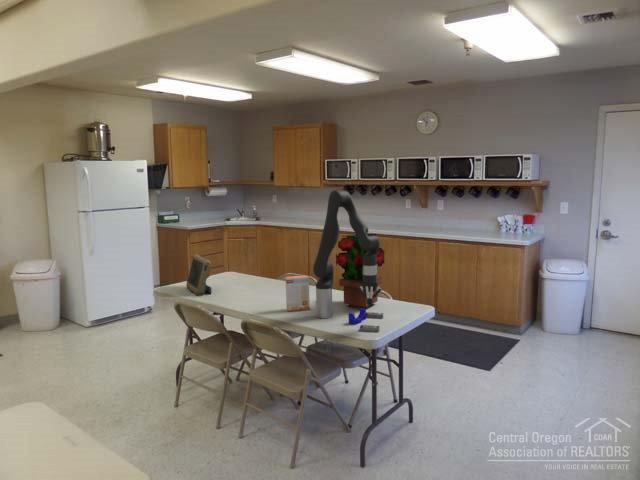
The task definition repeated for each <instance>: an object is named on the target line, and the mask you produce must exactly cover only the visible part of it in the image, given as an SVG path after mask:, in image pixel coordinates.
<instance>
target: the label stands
mask: <svg viewBox="0 0 640 480" xmlns="http://www.w3.org/2000/svg"><path fill="white" fill-rule="evenodd" d="M367 318H368V319H384V312H372V311H371V312H368V311H366V319H367ZM359 332H373V333H374V332H375V333H379V332H380V325H369V324H368V325H367V324H365V325H364V324H360V327H359Z"/></svg>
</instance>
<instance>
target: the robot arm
mask: <svg viewBox="0 0 640 480" xmlns="http://www.w3.org/2000/svg"><path fill="white" fill-rule="evenodd" d="M340 208H343V209H344V210H345V211H346V213H347V215H348V221H349V225H350V227H351V228H352V230H353V231H354V234H355V235H356V234H357V238H358V241H359V244H360V246H361V247H362V248H363V249H365V250H368V252H367V253H366V254H365V255H364V256H363V283H362V286H361V287H359V288H358V290H359V291H360V293H361V294H362V295H363V296H364V297H366V298H367V304H368V305H371V304H372V303H373V298H375V297H376V296H377V295H378V294H379V293H381V291H382V287H380V286H379V284H377V276H378V275H377V274H378V267H377V266H378V264H376V257H377V254H378V250H379V248H380V239H379V238H378V236H377V235H376V236H374V235H373V236H368V233H369V228H368V226H367V224H366V223H365V221H364V220H363V218H362V217H361V215H360V214H359V211H358V210H357V207H356V205H355V203H354V201H353V199H352V197H351V195H350V193H349V191H347V190H339V189H338V190H337V189H335V190H332V191H331V192H330V194H329V196H328V200H327V212H326V215H325V220H324V221H325V222H324V226H323V229H322V234H321V238H320V242H319V247H318V252H317V254H316V256H315V257H316V258H315V260H314V263H313V268H312V269H313V271H312V272H313V274H314V275H315V277H317V278H318V280H317V281H316V283H315V294H316V295H315V297H316V298H315V301H314V302H315V304H314V305H315V318H319V319H329V318H332V317H333V283H334V265H333V263H332V261H330V260H329V258H330V256H331V253H332V252H333V250H334V249H335V247H336V246H337V245H336V244H338V241H339V240H338V239H339V236H340V230H341V229H340V225H339V221H338V212H339V209H340ZM363 288H364V290H365V291H366V294H367V295H366V294H365V292H364V291H363ZM376 288H377V292H376V293H375V294H374V295H373V292H374V291H375V289H376ZM369 292H370V294H369ZM373 304H374V303H373Z"/></svg>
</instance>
